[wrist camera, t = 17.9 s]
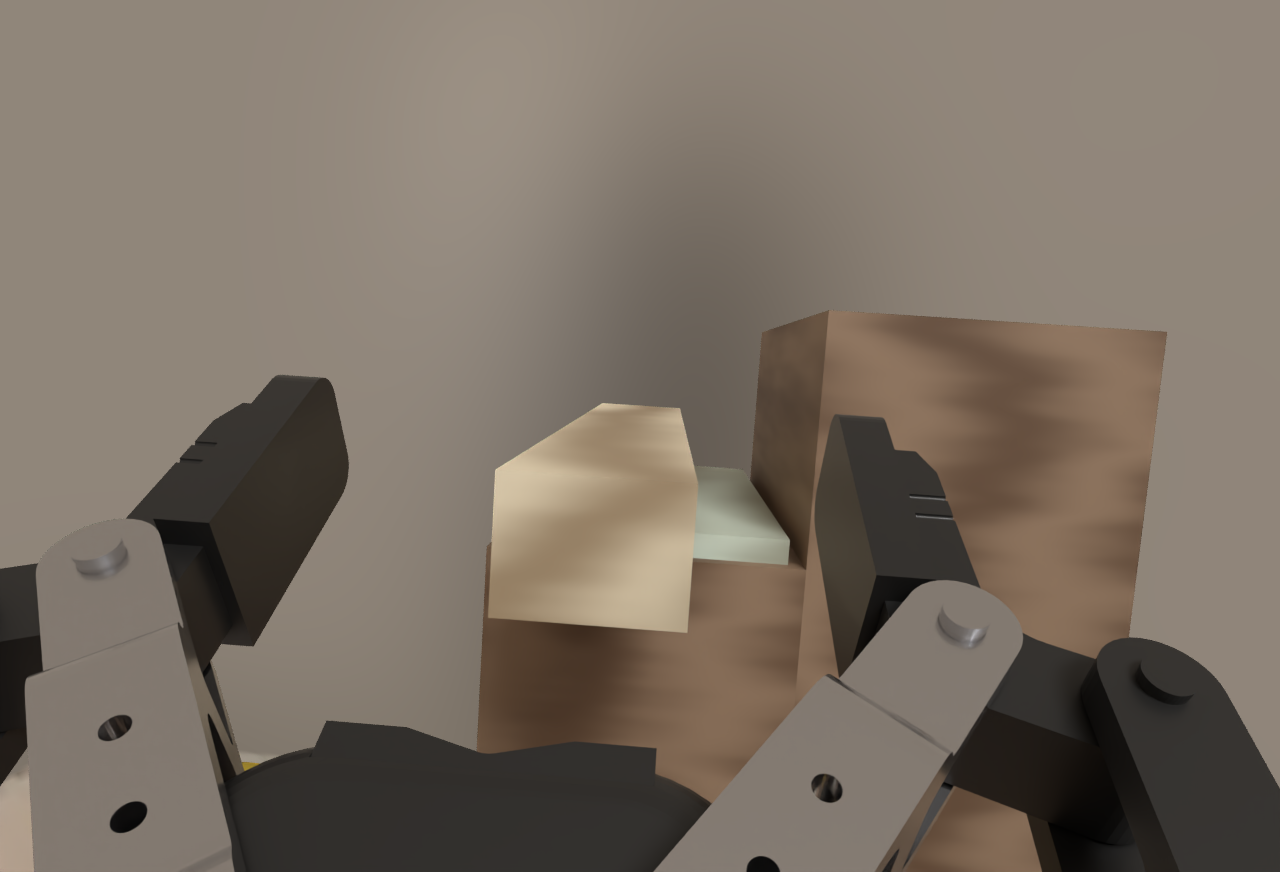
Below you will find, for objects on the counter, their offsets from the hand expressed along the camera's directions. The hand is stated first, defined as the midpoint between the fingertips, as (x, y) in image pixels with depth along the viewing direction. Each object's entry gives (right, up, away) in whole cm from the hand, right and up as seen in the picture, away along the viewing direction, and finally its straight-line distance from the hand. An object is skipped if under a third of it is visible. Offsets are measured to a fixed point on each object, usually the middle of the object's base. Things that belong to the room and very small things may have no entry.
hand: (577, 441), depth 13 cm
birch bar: (0, -2, +16) cm, 16 cm away
